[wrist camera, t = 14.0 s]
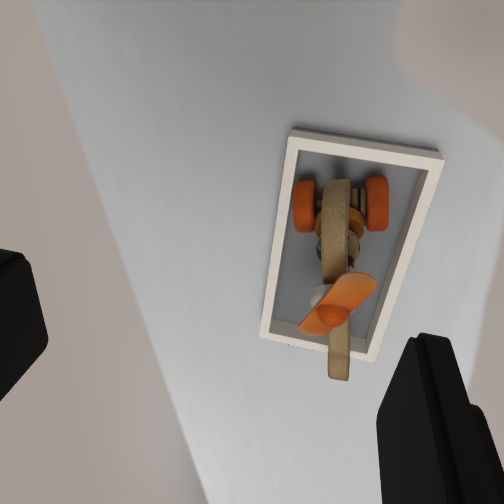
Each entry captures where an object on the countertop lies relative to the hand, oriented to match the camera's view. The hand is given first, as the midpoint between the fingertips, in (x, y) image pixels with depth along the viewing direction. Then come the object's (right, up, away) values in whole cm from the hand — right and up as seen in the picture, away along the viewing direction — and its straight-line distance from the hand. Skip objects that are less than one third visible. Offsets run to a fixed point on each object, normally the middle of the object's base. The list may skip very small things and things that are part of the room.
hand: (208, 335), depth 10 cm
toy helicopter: (+10, +2, +32) cm, 33 cm away
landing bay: (+10, +3, +32) cm, 34 cm away
